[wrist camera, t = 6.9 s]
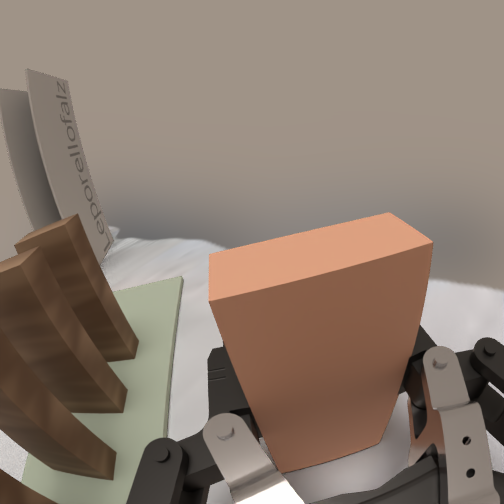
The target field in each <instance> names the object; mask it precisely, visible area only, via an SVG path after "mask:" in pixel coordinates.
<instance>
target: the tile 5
mask: <svg viewBox="0 0 504 504" xmlns="http://www.w3.org/2000/svg"><path fill="white" fill-rule="evenodd" d="M14 246H15V248H16V251H17V253H18V254H21V253H23V252H26V251H28V250H31V249H33V248H36V247H38V246H40V247H41V249H42V252H43V254H44V256H45V258H46V260H47V262H48V264H49V267H50V269H51V271H52V273H53V275H54V277H55V279H56V281H57V282H58V284H59V286H60V288H61V290H62V292H63V294H64V296H65V297H66V299H67V301H68V303H69V304H70V306H71V308H72V310H73V311H74V313H75V315H76V316H77V318H78V320H79V321H80V323H81V325H82V326H83V328H84V329H85V331H86V332H87V334H88V336H89V337H90V339H91V340H92V342H93V343H94V345H95V346H96V348H97V349H98V351H99V352H100V353H101V355H102V356H103V358H104V359H105V360H106V362H115V361H123V360H131V359H135V356H136V352H137V348H138V344H139V340H138V338H137V337H136V335H135V333H134V331H133V330H132V328H131V326H130V324H129V323H128V321H127V319H126V317H125V315H124V313H123V312H122V310H121V308H120V306H119V304H118V302H117V300H116V298H115V296H114V294H113V292H112V290H111V288H110V286H109V284H108V282H107V280H106V278H105V276H104V274H103V272H102V270H101V267H100V265H99V263H98V261H97V259H96V256H95V254H94V252H93V249H92V247H91V245H90V242H89V240H88V238H87V235H86V233H85V230H84V228H83V225H82V222H81V220H80V217H79V215H78V213H77V214H75V215H72V216H69V217H67V218H64V219H62V220H59V221H57V222H54V223H52V224H50V225H47V226H45V227H42V228H40V229H38V230H35V231H33V232H31V233H29V234H27V235H26V236H25V237H24V238H22V239H21V240H20V241H19V242H18V243H16V244H15V245H14Z"/></svg>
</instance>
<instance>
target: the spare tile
mask: <svg viewBox="0 0 504 504" xmlns="http://www.w3.org/2000/svg"><path fill="white" fill-rule="evenodd" d="M432 249H433V241H431V240H430V239H428V238H427V237H426V236H424V235H422V234H421V233H420V232H418V231H417V230H415V229H414V228H412V227H411V226H410V225H408V224H406V223H405V222H403V221H402V220H400V219H399V218H397V217H396V216H394V215H393V214H391V213H385V214H380V215H376V216H372V217H367V218H362V219H358V220H354V221H349V222H345V223H340V224H336V225H332V226H327V227H324V228H319V229H314V230H310V231H306V232H301V233H297V234H293V235H289V236H284V237H280V238H275V239H271V240H267V241H263V242H259V243H254V244H250V245H246V246H241V247H238V248H233V249H229V250H225V251H220V252H216V253H212V254H209V304H210V307H211V309H212V312H213V315H214V318H215V320H216V323H217V326H218V328H219V331H220V334H221V336H222V339H223V342H224V344H225V347H226V350H227V352H228V355H229V357H230V360H231V362H232V365H233V367H234V370H235V372H236V375H237V377H238V380H239V382H240V385H241V387H242V390H243V392H244V394H245V397H246V399H247V401H248V404H249V406H250V408H251V411H252V413H253V415H254V418H255V420H256V422H257V425H258V427H259V429H260V431H261V434H262V436H263V438H264V440H265V442H266V445H267V447H268V449H269V451H270V453H271V455H272V457H273V460H274V462H275V464H276V466H277V468H278V470H279V472H280V473H285V472H289V471H294V470H298V469H302V468H306V467H310V466H314V465H317V464H321V463H324V462H328V461H331V460H334V459H337V458H340V457H344V456H346V455H349V454H352V453H355V452H358V451H361V450H363V449H366V448H368V447H371V446H374V445H376V444H378V443H379V442H380V440H381V438H382V436H383V433H384V431H385V429H386V426H387V424H388V422H389V419H390V417H391V414H392V412H393V409H394V406H395V404H396V401H397V398H398V396H399V394H398V392H399V389H400V386H401V383H402V380H403V376H404V373H405V370H406V367H407V363H408V360H409V357H411V356H412V352H413V348H414V345H415V341H416V337H417V333H418V329H419V325H420V321H421V316H422V311H423V307H424V302H425V296H426V291H427V285H428V279H429V273H430V266H431V258H432ZM397 394H398V395H397Z"/></svg>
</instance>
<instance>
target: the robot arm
mask: <svg viewBox="0 0 504 504" xmlns="http://www.w3.org/2000/svg"><path fill="white" fill-rule="evenodd" d="M489 382H490V383H492V384H493V385H494V386H495V387H496V388H498V389H499V390H500V391H501V392H502V393H503V394H504V345H502V344H501V343H500V342H498V341H497V340H495V339H493V338H488V337H487V338H482V339H480V340H478V341H477V343H476V344H475V346H474V349H473V350H468V351H462V352H457V353H454V352H453V351H452V350H451V349H449V348H447V347H443V346H437V345H436V344H435V343H434V341H433V340H432V339H431V338H430V336H429V335H428V334H427V333H426V332H425V330H424V329H423V328H422V327H421V325H419V329H418V333H417V337H416V341H415V345H414V348H413V352H412V356H411V357H409V360H408V363H407V367H406V370H405V373H404V376H403V380H402V383H401V386H400V389H399V392H398V394H401V393H403V392H405V391H406V392H407V394H408V395H409V397H408V401H407V404H408V413H409V423H410V435H411V446H410V450H409V455H408V468H406V469H404V470H403V471H401V472H400V473H399V474H398V475H396V476H395V477H394V478H392V479H391V480H389V481H388V482H387V483H385V484H384V485H382V486H381V487H380V488H378V489H375V490H370V491H363V492H356V493H348V494H341V495H338V496H335V497H331V498H328V499H324V500H321V501H317V502H313V503H309V504H504V473H501V472H497V471H494V470H492V465H491V457H490V451H489V445H488V439H487V434H486V430H487V431H488V432H489V433H490V434H491V435H492V436H493V437H495V438H496V439H497V440H498V441H499V442H500V443H501V444H502V445H503V446H504V398H503V397H502V396H501V395H500V394H499V393H497V392H496V391H495V390H494V389H493V388H492V387H490V386H489V385H488V383H489ZM398 394H397V395H398ZM208 398H209V418H208V421H207V423H206V424H205V426H204V428H203V429H202V430H201V431H200V432H198V433H197V434H195V435H193V436H190V437H188V438H185V439H183V440H180V441H178V442H176V441H174V440H173V439H170V438H158V439H155V440H153V441H151V442H150V443H149V444H148V445H147V446H146V447H145V449H144V451H143V454H142V457H141V460H140V463H139V466H138V469H137V472H136V475H135V478H134V481H133V484H132V487H131V490H130V493H129V496H128V499H127V502H126V504H206V502H207V498H208V493H209V488H210V485H212V484H215V483H217V482H220V481H222V480H224V479H225V480H226V482H227V484H228V486H229V488H230V493H231V496H232V498H233V500H234V501H235V503H236V504H304V502H303V501H302V500H301V499H300V497H299V496H298V495H297V494H296V492H295V491H294V490H293V488H292V487H291V486H290V485H289V483H288V482H287V481H286V479H285V478H284V477H283V475H282V474H281V473H280V472H279V470H278V469H277V468H276V467H275V466H274V465H273V463H272V462H271V460H270V459H269V458H268V456H267V455H266V453H265V452H264V450H263V449H262V448H261V446H260V442H259V438H260V437H263V436H262V434H261V431H260V429H259V427H258V425H257V422H256V420H255V418H254V415H253V413H252V411H251V408H250V406H249V404H248V401H247V399H246V397H245V394H244V392H243V390H242V387H241V385H240V382H239V380H238V377H237V375H236V372H235V370H234V367H233V365H232V362H231V360H230V357H229V355H228V352H227V350H226V347H225V344H224V342H223V347H219V348H214V349H212V351H211V353H210V355H209V358H208Z"/></svg>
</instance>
